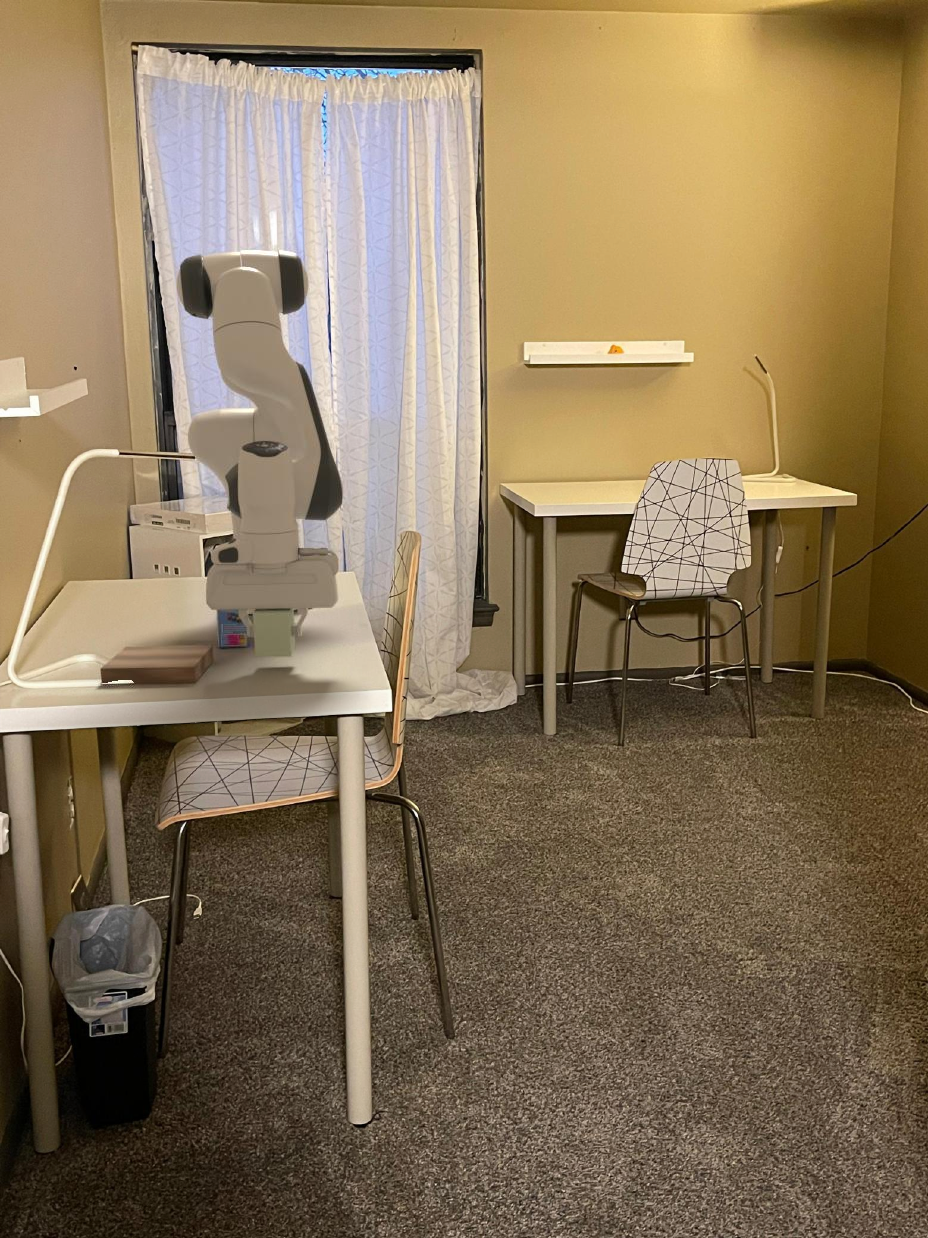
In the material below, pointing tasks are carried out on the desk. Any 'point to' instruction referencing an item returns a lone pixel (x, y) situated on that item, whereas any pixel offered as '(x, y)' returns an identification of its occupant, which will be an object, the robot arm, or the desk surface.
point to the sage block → (273, 632)
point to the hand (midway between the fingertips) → (274, 636)
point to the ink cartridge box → (231, 629)
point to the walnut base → (158, 664)
